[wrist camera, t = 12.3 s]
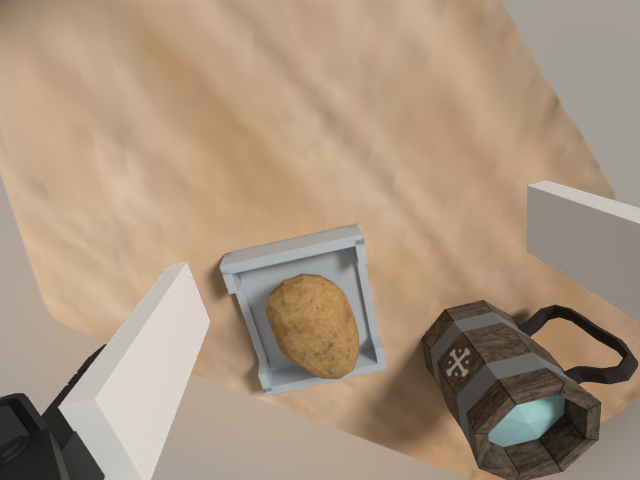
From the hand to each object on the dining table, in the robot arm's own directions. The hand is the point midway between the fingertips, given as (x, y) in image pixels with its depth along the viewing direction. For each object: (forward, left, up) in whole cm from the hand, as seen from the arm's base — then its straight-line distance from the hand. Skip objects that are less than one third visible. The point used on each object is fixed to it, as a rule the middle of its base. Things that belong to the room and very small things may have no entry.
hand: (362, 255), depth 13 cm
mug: (+28, +18, -27) cm, 43 cm away
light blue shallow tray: (+18, -5, -27) cm, 33 cm away
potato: (+18, -4, -26) cm, 32 cm away
